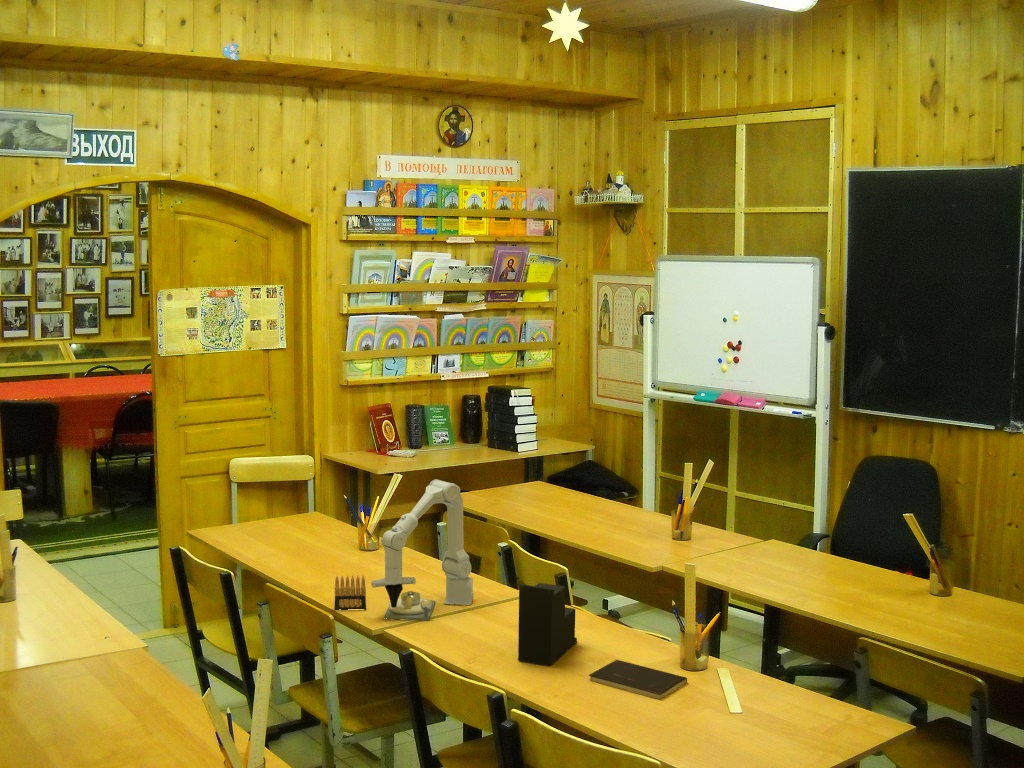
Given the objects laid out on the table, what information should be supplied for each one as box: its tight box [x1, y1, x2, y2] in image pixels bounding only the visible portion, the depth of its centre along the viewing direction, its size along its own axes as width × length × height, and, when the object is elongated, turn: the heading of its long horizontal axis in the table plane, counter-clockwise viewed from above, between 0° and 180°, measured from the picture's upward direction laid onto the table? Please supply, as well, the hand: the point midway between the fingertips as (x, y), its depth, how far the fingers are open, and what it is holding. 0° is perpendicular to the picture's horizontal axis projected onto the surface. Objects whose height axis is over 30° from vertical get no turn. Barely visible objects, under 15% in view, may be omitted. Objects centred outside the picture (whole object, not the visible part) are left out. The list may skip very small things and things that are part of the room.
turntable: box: [388, 596, 432, 614], centre depth 378 cm, size 14×14×6 cm
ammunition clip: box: [333, 574, 367, 610], centre depth 378 cm, size 11×2×12 cm, turn 96°
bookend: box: [517, 582, 578, 666], centre depth 340 cm, size 23×11×24 cm, turn 157°
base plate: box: [383, 599, 437, 622], centre depth 378 cm, size 15×19×1 cm
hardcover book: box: [588, 659, 688, 700], centre depth 318 cm, size 16×23×2 cm
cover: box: [400, 590, 421, 606], centre depth 378 cm, size 6×6×4 cm
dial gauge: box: [421, 599, 432, 617], centre depth 369 cm, size 4×1×7 cm, turn 87°
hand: (393, 606), depth 371 cm, fingers closed
